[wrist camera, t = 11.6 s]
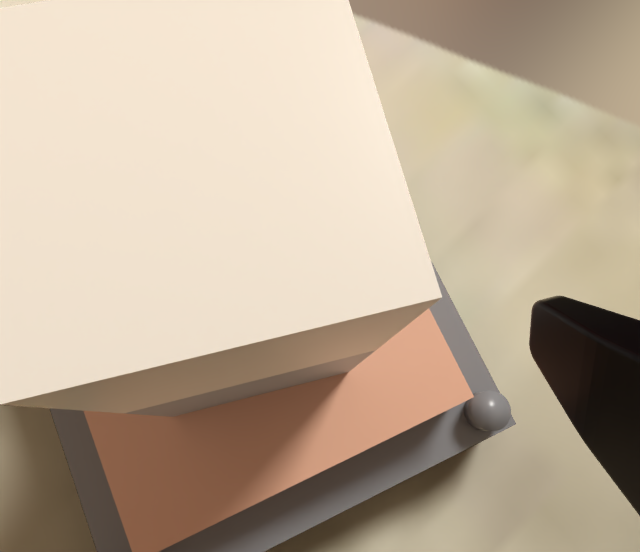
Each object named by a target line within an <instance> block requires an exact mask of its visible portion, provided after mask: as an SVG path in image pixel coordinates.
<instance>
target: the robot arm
mask: <svg viewBox="0 0 640 552" xmlns="http://www.w3.org/2000/svg"><path fill="white" fill-rule="evenodd" d="M529 345H530V351H531V354H532V357H533V359H534V360H535V362H536V364H537V365H538V367H539V369H540V370H541V372H542V374H543V375H544V377H545V379H546V380H547V382H548V384H549V385H550V387H551V389H552V390H553V392H554V394H555V395H556V397H557V399H558V400H559V402H560V404H561V405H562V407H563V409H564V410H565V412H566V414H567V415H568V417H569V419H570V420H571V422H572V424H573V425H574V427H575V428H576V430H577V432H578V433H579V435H580V436H581V438H582V439H583V441H584V442H585V443H586V445H587V446H588V448H589V449H590V450H591V452H592V453H593V454H594V456H595V457H596V458H597V460H598V461H599V462H600V464H601V465H602V466H603V468H604V469H605V470H606V472H607V473H608V474H609V476H610V477H611V478H612V480H613V481H614V482H615V484H616V485H617V486H618V488H619V489H620V490H621V492H622V493H623V494H624V496H625V497H626V498H627V500H628V501H629V502H630V503H631V505H632V506H633V507H634V509H635V510H636V511H637V513H638V514H639V515H640V320H637V319H634V318H630V317H627V316H624V315H621V314H618V313H615V312H612V311H608V310H605V309H602V308H599V307H596V306H593V305H589V304H586V303H583V302H580V301H577V300H574V299H570V298H567V297H564V296H554V297H550V298H546V299H543V300H539V301H537V302H536V303H535V304H534V305H533V307H532V314H531V327H530V340H529Z"/></svg>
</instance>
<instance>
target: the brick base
mask: <svg viewBox="0 0 640 552" xmlns="http://www.w3.org/2000/svg"><path fill="white" fill-rule="evenodd" d="M431 263H432V261H431ZM432 266H433V269H434V272H435V276H436V279H437V282H438V285H439V288H440V291H441V295H442V298H441V299H440V300H438V301H437V302H436V303H435V304H433V305H432V306H431V307H430V308H428V309H427V310H426V311H425V312H423V313H422V314H421V315H420V316H418V317H417V318H416V319H415V320H413V321H412V322H411V323H410V324H408V325H407V326H406V327H405V328H403V329H402V330H401V331H400V332H398V333H397V334H396V335H394V336H393V337H392V338H391V339H389V340H388V341H387V342H386V343H384V344H383V345H382V346H381V347H379V348H378V349H377V350H376V351H374V352H373V353H372V354H371V355H369V356H368V357H367V358H366V359H364V360H363V361H362V362H361V363H359V364H358V365H357V366H356V367H354V368H353V369H352V370H351V371H349V372H347V373H343V374H339V375H335V376H331V377H327V378H323V379H319V380H315V381H311V382H307V383H303V384H300V385H296V386H292V387H288V388H284V389H280V390H276V391H272V392H268V393H264V394H260V395H256V396H252V397H248V398H245V399H241V400H237V401H233V402H229V403H225V404H221V405H217V406H213V407H209V408H205V409H201V410H197V411H193V412H190V413H186V414H182V415H178V416H174V417H168V416H153V415H139V414H125V413H110V412H96V411H81V410H67V409H53V408H50V411H51V414H52V417H53V420H54V423H55V426H56V429H57V432H58V435H59V438H60V441H61V444H62V448H63V451H64V454H65V457H66V460H67V463H68V466H69V469H70V472H71V475H72V478H73V481H74V484H75V487H76V490H77V493H78V496H79V499H80V502H81V505H82V508H83V511H84V514H85V517H86V520H87V523H88V526H89V529H90V532H91V535H92V538H93V541H94V544H95V547H96V550H97V552H264V551H266V550H268V549H270V548H272V547H274V546H276V545H278V544H280V543H282V542H284V541H286V540H288V539H290V538H292V537H294V536H296V535H298V534H300V533H302V532H304V531H306V530H308V529H310V528H312V527H314V526H316V525H318V524H320V523H322V522H324V521H326V520H328V519H330V518H332V517H334V516H335V515H337V514H339V513H341V512H343V511H345V510H347V509H349V508H351V507H353V506H355V505H357V504H359V503H361V502H363V501H365V500H367V499H369V498H371V497H373V496H375V495H377V494H379V493H381V492H383V491H385V490H387V489H389V488H391V487H393V486H395V485H397V484H399V483H401V482H403V481H405V480H407V479H409V478H410V477H412V476H414V475H416V474H418V473H420V472H422V471H424V470H426V469H428V468H430V467H432V466H434V465H436V464H438V463H440V462H442V461H444V460H446V459H448V458H450V457H452V456H454V455H456V454H458V453H460V452H462V451H464V450H466V449H468V448H470V447H472V446H474V445H476V444H478V443H480V442H482V441H484V440H486V439H487V438H489V437H491V436H493V435H495V434H497V433H499V432H501V431H503V430H505V429H507V428H509V427H511V426H513V425H515V424H516V423H515V421H514V419H513V417H512V415H511V409H510V405H509V403H508V401H507V399H506V398H505V397H504V396H503V395H502V394H500V392H499V390H498V388H497V387H496V385H495V383H494V381H493V379H492V377H491V375H490V373H489V371H488V369H487V367H486V365H485V363H484V361H483V360H482V358H481V356H480V354H479V352H478V350H477V348H476V346H475V344H474V342H473V340H472V338H471V336H470V335H469V333H468V331H467V329H466V327H465V325H464V323H463V321H462V319H461V317H460V315H459V313H458V311H457V310H456V308H455V306H454V304H453V302H452V300H451V298H450V296H449V294H448V292H447V290H446V288H445V286H444V285H443V283H442V281H441V279H440V277H439V275H438V273H437V271H436V269H435V267H434V265H433V263H432Z"/></svg>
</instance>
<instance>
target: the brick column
mask: <svg viewBox="0 0 640 552" xmlns="http://www.w3.org/2000/svg"><path fill="white" fill-rule="evenodd" d="M441 298H442V295H441V291H440V288H439V285H438V282H437V279H436V276H435V272H434V269H433V266H432V263H431V260H430V257H429V253H428V250H427V247H426V244H425V241H424V238H423V234H422V231H421V228H420V225H419V222H418V219H417V216H416V212H415V209H414V206H413V203H412V200H411V197H410V193H409V190H408V187H407V184H406V181H405V178H404V174H403V171H402V168H401V165H400V162H399V159H398V155H397V152H396V149H395V146H394V143H393V140H392V136H391V133H390V130H389V127H388V124H387V121H386V117H385V114H384V111H383V108H382V105H381V102H380V98H379V95H378V92H377V89H376V86H375V83H374V80H373V76H372V73H371V70H370V67H369V64H368V61H367V57H366V54H365V51H364V48H363V45H362V42H361V38H360V35H359V32H358V29H357V26H356V23H355V19H354V16H353V13H352V10H351V7H350V4H349V0H46V1H39V2H33V3H26V4H20V5H14V6H7V7H1V8H0V405H9V406H24V407H38V408H53V409H67V410H81V411H96V412H110V413H125V414H139V415H153V416H168V417H174V416H178V415H182V414H186V413H190V412H193V411H197V410H201V409H205V408H209V407H213V406H217V405H221V404H225V403H229V402H233V401H237V400H241V399H245V398H248V397H252V396H256V395H260V394H264V393H268V392H272V391H276V390H280V389H284V388H288V387H292V386H296V385H300V384H303V383H307V382H311V381H315V380H319V379H323V378H327V377H331V376H335V375H339V374H343V373H347V372H349V371H351V370H352V369H353V368H354V367H356V366H357V365H358V364H359V363H361V362H362V361H363V360H364V359H366V358H367V357H368V356H369V355H371V354H372V353H373V352H374V351H376V350H377V349H378V348H379V347H381V346H382V345H383V344H384V343H386V342H387V341H388V340H389V339H391V338H392V337H393V336H394V335H396V334H397V333H398V332H400V331H401V330H402V329H403V328H405V327H406V326H407V325H408V324H410V323H411V322H412V321H413V320H415V319H416V318H417V317H418V316H420V315H421V314H422V313H423V312H425V311H426V310H427V309H428V308H430V307H431V306H432V305H433V304H435V303H436V302H437V301H438V300H440V299H441Z"/></svg>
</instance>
